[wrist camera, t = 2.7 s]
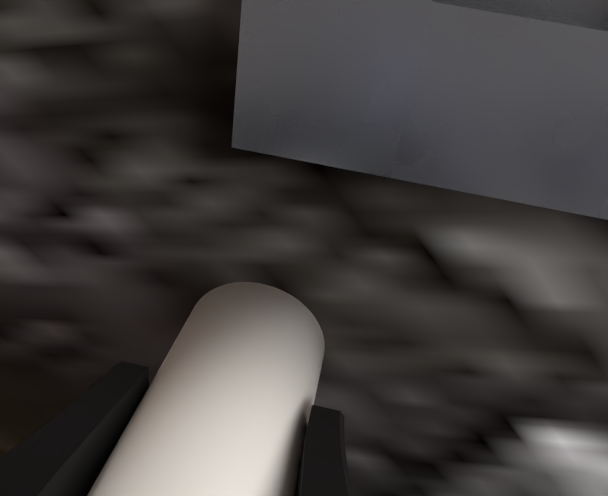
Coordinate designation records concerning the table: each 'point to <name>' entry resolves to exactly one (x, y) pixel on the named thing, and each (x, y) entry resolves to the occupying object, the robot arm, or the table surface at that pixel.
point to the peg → (224, 402)
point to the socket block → (434, 93)
